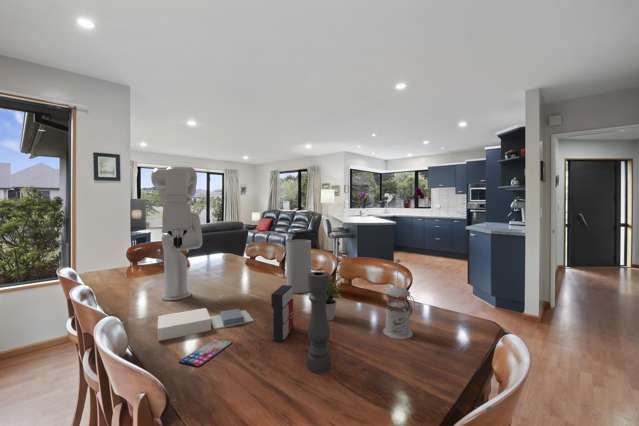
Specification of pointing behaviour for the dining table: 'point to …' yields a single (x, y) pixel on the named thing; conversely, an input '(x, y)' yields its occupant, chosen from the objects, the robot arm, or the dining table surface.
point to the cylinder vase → (298, 264)
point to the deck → (183, 323)
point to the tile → (231, 317)
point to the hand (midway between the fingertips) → (177, 247)
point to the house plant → (331, 302)
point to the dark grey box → (282, 312)
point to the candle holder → (318, 324)
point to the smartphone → (205, 353)
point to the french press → (398, 313)
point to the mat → (218, 324)
